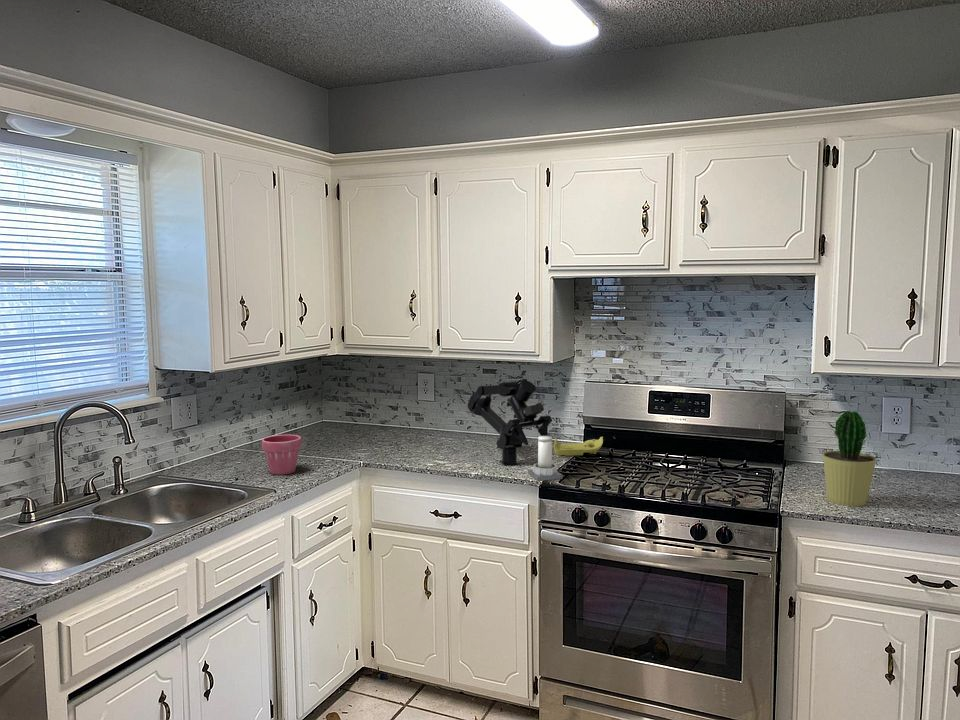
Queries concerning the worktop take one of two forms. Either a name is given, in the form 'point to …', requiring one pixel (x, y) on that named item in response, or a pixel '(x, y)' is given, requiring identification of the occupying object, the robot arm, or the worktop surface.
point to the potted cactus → (848, 463)
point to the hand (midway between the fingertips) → (537, 443)
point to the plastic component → (578, 447)
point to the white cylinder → (545, 452)
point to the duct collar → (544, 473)
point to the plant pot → (281, 452)
